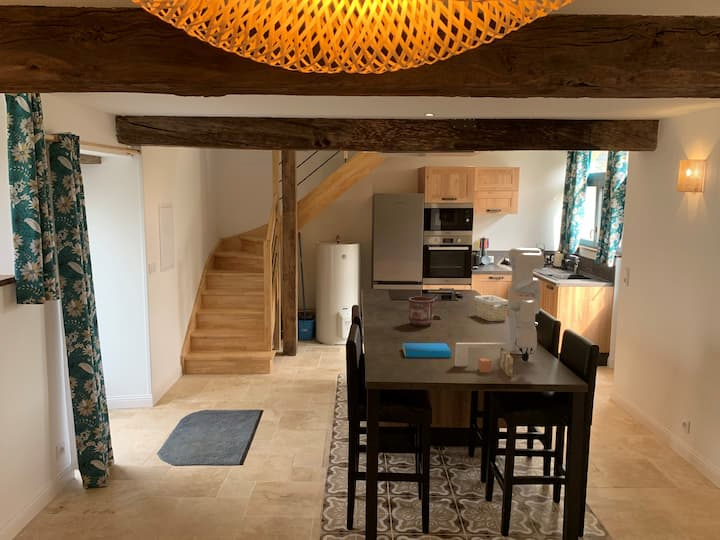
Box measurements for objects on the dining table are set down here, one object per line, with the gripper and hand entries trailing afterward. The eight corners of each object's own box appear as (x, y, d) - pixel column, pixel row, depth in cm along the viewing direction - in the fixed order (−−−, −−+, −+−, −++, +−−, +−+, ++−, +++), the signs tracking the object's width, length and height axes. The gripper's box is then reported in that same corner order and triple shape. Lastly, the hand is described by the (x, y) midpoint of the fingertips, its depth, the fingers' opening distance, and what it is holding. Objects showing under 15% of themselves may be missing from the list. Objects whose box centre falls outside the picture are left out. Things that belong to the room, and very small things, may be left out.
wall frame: (508, 365, 303) (509, 342, 301) (509, 366, 301) (510, 343, 299) (455, 365, 302) (455, 342, 300) (455, 366, 300) (456, 343, 298)
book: (402, 343, 331) (445, 342, 332) (402, 350, 332) (445, 350, 332) (405, 351, 314) (451, 350, 315) (405, 359, 315) (451, 358, 315)
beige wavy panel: (499, 366, 300) (500, 348, 299) (502, 366, 300) (503, 348, 299) (508, 377, 283) (509, 358, 282) (512, 377, 283) (513, 358, 282)
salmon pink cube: (487, 369, 296) (488, 357, 295) (490, 372, 290) (491, 361, 289) (478, 369, 296) (478, 357, 295) (480, 372, 290) (481, 361, 289)
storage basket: (472, 315, 426) (473, 295, 424) (492, 314, 430) (493, 294, 428) (487, 322, 403) (488, 301, 401) (508, 321, 407) (509, 300, 405)
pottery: (435, 328, 383) (436, 301, 381) (408, 327, 384) (409, 300, 381) (432, 322, 401) (433, 296, 399) (407, 321, 401) (407, 296, 399)
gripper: (539, 323, 289) (537, 358, 291) (509, 323, 288) (507, 358, 291) (544, 326, 282) (542, 363, 284) (514, 326, 281) (512, 363, 283)
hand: (525, 360), depth 287 cm, fingers closed
